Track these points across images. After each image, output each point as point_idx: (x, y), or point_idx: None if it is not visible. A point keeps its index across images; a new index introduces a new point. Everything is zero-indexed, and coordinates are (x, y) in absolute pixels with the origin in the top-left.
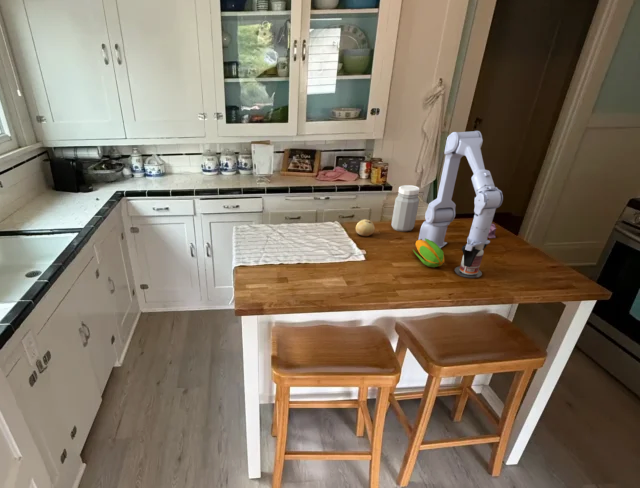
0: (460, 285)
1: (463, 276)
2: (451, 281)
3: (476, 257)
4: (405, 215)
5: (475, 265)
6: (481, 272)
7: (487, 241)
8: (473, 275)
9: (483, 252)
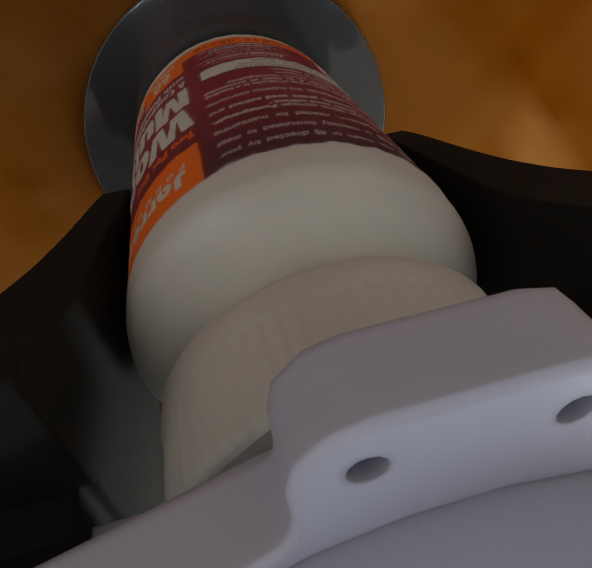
0: (580, 12)
1: (384, 108)
2: (532, 125)
3: (418, 168)
4: None
5: (344, 95)
6: (122, 18)
7: (512, 446)
8: (290, 43)
9: (262, 182)
